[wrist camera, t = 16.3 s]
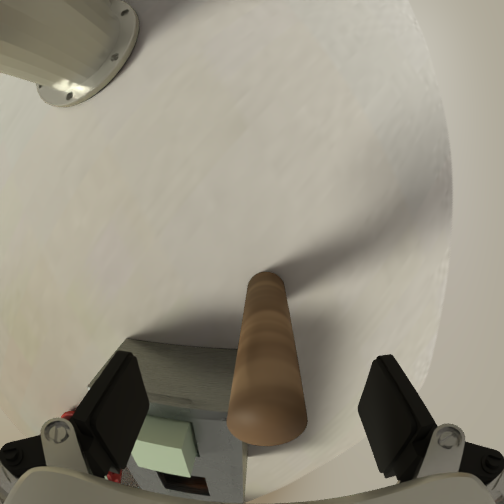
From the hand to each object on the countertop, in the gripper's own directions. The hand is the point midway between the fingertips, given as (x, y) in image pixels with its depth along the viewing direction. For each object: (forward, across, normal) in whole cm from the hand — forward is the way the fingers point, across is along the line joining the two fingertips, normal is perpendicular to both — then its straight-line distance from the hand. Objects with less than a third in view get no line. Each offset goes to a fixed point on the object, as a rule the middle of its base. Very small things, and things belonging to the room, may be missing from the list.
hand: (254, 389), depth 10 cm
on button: (+7, +7, +11) cm, 15 cm away
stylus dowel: (+13, -1, +1) cm, 13 cm away
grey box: (+12, +7, +16) cm, 22 cm away
